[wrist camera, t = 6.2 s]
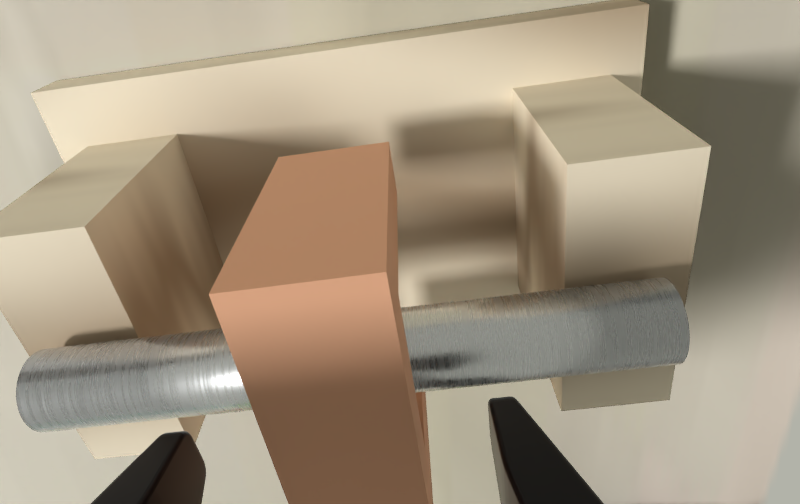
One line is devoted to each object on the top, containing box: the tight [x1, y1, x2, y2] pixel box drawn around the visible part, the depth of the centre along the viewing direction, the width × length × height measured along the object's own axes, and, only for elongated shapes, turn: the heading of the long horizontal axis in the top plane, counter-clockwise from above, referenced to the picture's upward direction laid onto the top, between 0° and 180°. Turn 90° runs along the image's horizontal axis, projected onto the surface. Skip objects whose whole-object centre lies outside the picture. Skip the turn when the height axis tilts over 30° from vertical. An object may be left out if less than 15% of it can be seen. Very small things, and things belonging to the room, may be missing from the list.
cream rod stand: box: [0, 0, 711, 459], centre depth 14 cm, size 9×15×6 cm, turn 98°
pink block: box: [209, 142, 433, 504], centre depth 11 cm, size 6×2×5 cm, turn 8°
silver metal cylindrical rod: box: [16, 277, 689, 432], centre depth 11 cm, size 2×12×2 cm, turn 98°
